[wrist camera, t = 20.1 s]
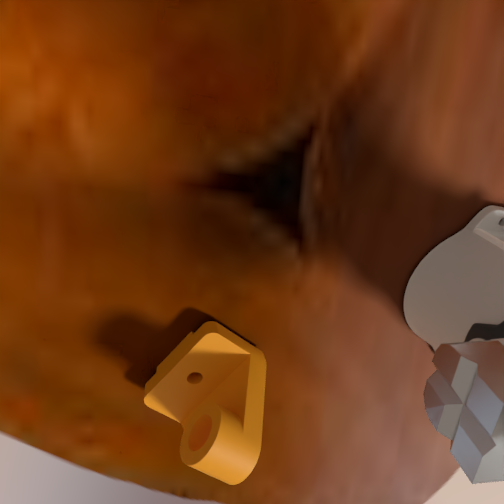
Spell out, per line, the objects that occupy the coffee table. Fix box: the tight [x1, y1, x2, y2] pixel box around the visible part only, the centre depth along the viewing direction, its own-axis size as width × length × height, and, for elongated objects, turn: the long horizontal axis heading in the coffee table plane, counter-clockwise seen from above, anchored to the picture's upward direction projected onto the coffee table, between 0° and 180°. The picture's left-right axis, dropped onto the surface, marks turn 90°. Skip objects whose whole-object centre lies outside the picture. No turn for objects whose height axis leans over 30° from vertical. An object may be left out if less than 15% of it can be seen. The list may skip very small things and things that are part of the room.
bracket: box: [144, 321, 267, 485], centre depth 42 cm, size 11×7×12 cm, turn 137°
